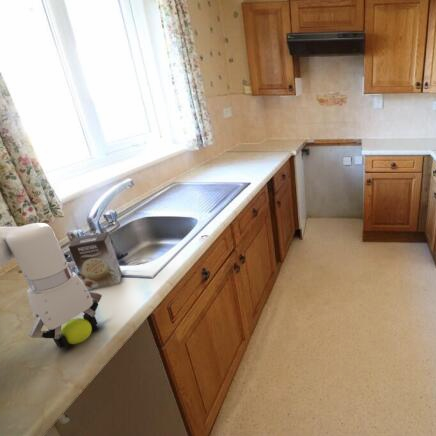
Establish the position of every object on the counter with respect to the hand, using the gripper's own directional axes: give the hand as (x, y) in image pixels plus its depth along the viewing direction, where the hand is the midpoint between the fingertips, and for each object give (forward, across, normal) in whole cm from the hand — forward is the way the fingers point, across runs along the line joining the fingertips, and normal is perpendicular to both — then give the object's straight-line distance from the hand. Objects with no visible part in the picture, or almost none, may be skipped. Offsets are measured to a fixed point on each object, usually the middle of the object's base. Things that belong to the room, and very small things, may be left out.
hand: (79, 337), depth 79 cm
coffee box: (+1, -18, -18) cm, 25 cm away
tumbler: (+1, -14, -30) cm, 33 cm away
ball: (-2, 0, 0) cm, 2 cm away
